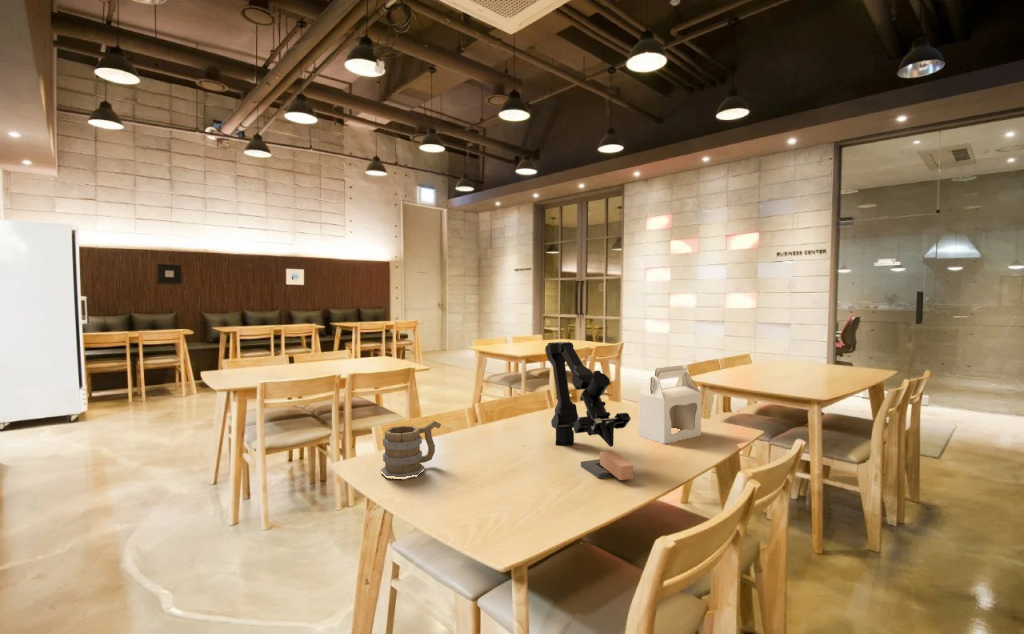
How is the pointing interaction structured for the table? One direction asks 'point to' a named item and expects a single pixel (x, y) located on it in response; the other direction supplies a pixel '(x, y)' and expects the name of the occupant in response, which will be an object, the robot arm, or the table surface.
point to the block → (616, 465)
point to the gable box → (669, 407)
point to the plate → (596, 469)
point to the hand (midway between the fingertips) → (611, 446)
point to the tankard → (407, 449)
